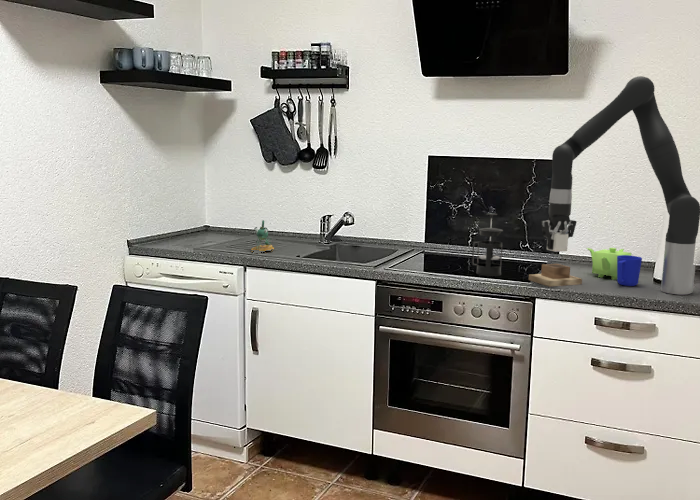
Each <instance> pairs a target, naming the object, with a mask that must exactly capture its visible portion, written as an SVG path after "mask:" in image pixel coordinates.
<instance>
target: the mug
mask: <svg viewBox="0 0 700 500" xmlns="http://www.w3.org/2000/svg"><path fill="white" fill-rule="evenodd" d="M642 261H643V258H642V257H641V256H636V255H631V256H629V255H620V256H617V280H616V281H617V283H618V284H619V285H622V286H624V287H634V286H637V285H638V283H639V278H640V275H641V274H640V273H641V268H642Z"/></svg>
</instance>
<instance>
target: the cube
mask: <svg viewBox="0 0 700 500" xmlns="http://www.w3.org/2000/svg"><path fill="white" fill-rule="evenodd" d="M547 240H548V239H547V238H546V241H547ZM553 240H554V245H553V250H550V249H548V248H547V247H546V250H547V251H551V252H555V253H556V252H568V245H569V238H568V234H564V233H561V232H557V233H556V234H554V239H553Z"/></svg>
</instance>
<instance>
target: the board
mask: <svg viewBox="0 0 700 500" xmlns="http://www.w3.org/2000/svg"><path fill="white" fill-rule="evenodd" d="M528 281H530V282H533V283H536V284H540V285H542V286H546V287H548V288H549V287H563V286H565V287H566V286H578V285H583V278H581V277H577V276H574V275H571V274H570V278H562V279H551V278H548V277H545V276H542V275H541V273H535V274H533V273H532V274H528Z"/></svg>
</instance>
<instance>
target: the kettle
mask: <svg viewBox="0 0 700 500" xmlns="http://www.w3.org/2000/svg"><path fill="white" fill-rule="evenodd" d="M586 249H587V250H588V251H589V253H590V255H591V262H592V269H591V274H596V275H597V278H599V277H600V278H599V279H604V277H605V276H604V275H606V277H611V280H613V281H617V256H620V255H629V256H632V252H629V251H628V252H627V251H625V250H624V248H620V249H619V250H617V248H616V247H609V248H608V249H606V248H604V249H599V250H596V251H595V250H594V249H593V248H590V247H586Z"/></svg>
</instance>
